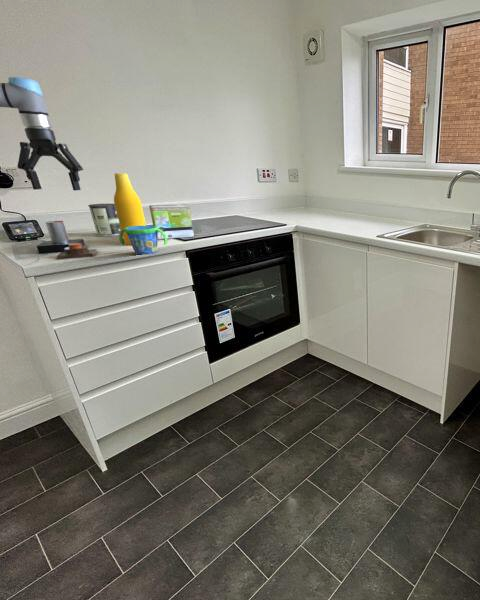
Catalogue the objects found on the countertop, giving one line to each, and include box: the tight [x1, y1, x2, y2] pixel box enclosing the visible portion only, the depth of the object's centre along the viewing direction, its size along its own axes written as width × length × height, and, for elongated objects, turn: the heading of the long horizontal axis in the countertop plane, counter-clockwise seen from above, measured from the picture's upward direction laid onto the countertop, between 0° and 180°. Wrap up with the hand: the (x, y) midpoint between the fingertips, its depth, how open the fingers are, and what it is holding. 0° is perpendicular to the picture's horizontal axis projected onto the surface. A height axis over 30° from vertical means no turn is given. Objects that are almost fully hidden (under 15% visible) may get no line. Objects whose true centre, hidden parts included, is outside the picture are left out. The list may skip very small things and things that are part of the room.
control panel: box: [36, 238, 86, 255], centre depth 139 cm, size 12×10×3 cm
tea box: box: [148, 204, 194, 241], centre depth 166 cm, size 15×10×15 cm, turn 129°
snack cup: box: [118, 224, 168, 256], centre depth 137 cm, size 16×10×10 cm
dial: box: [45, 220, 70, 243], centre depth 137 cm, size 5×5×8 cm
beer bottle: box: [113, 172, 147, 246], centre depth 149 cm, size 9×9×29 cm
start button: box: [69, 243, 82, 249], centre depth 131 cm, size 4×4×2 cm
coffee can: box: [88, 203, 121, 237], centre depth 166 cm, size 10×10×14 cm
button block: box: [56, 245, 98, 260], centre depth 132 cm, size 10×8×3 cm
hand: (57, 189), depth 134 cm, fingers open, 13 cm apart
